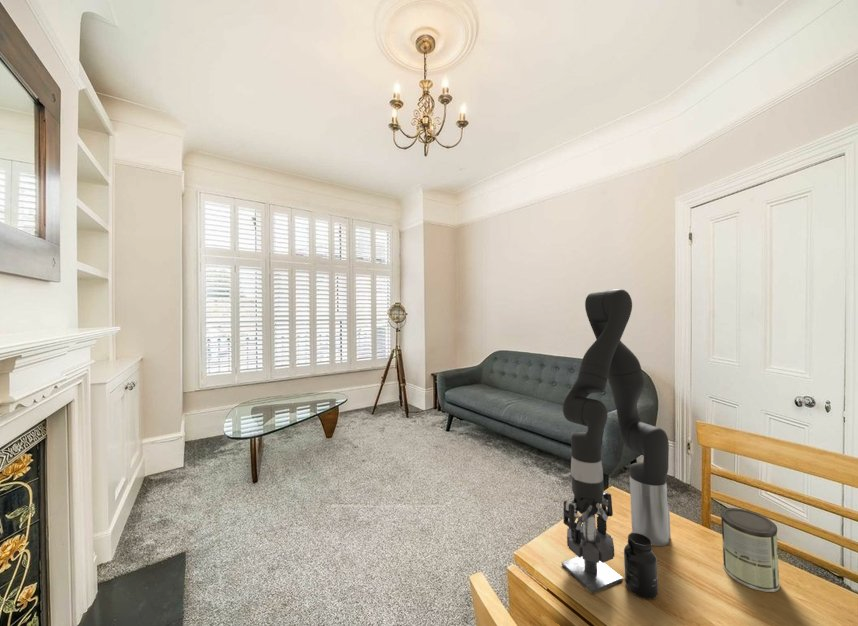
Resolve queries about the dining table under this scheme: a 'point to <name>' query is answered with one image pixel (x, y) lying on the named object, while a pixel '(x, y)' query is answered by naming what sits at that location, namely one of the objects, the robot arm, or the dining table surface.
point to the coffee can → (750, 549)
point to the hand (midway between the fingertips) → (589, 537)
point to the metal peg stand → (591, 564)
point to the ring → (592, 547)
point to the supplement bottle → (640, 567)
